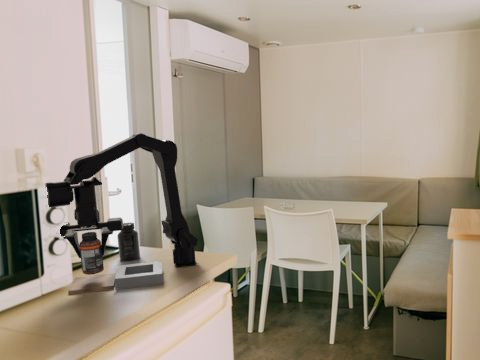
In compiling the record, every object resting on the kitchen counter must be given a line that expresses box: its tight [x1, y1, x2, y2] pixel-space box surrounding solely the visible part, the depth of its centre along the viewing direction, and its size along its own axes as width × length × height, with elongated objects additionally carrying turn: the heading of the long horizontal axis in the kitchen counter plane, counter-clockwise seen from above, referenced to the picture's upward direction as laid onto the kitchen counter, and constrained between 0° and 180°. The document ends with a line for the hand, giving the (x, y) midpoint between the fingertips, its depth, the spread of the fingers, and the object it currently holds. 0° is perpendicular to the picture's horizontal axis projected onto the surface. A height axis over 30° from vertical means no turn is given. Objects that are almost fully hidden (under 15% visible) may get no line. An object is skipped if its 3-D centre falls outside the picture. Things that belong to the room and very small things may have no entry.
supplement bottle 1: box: [79, 231, 105, 276], centre depth 135 cm, size 6×6×11 cm
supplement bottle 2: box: [117, 222, 141, 262], centre depth 162 cm, size 7×7×12 cm
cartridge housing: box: [114, 260, 164, 290], centre depth 138 cm, size 13×13×3 cm
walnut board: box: [67, 272, 116, 295], centre depth 136 cm, size 12×12×1 cm
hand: (91, 256), depth 135 cm, fingers closed on supplement bottle 1, 6 cm apart
